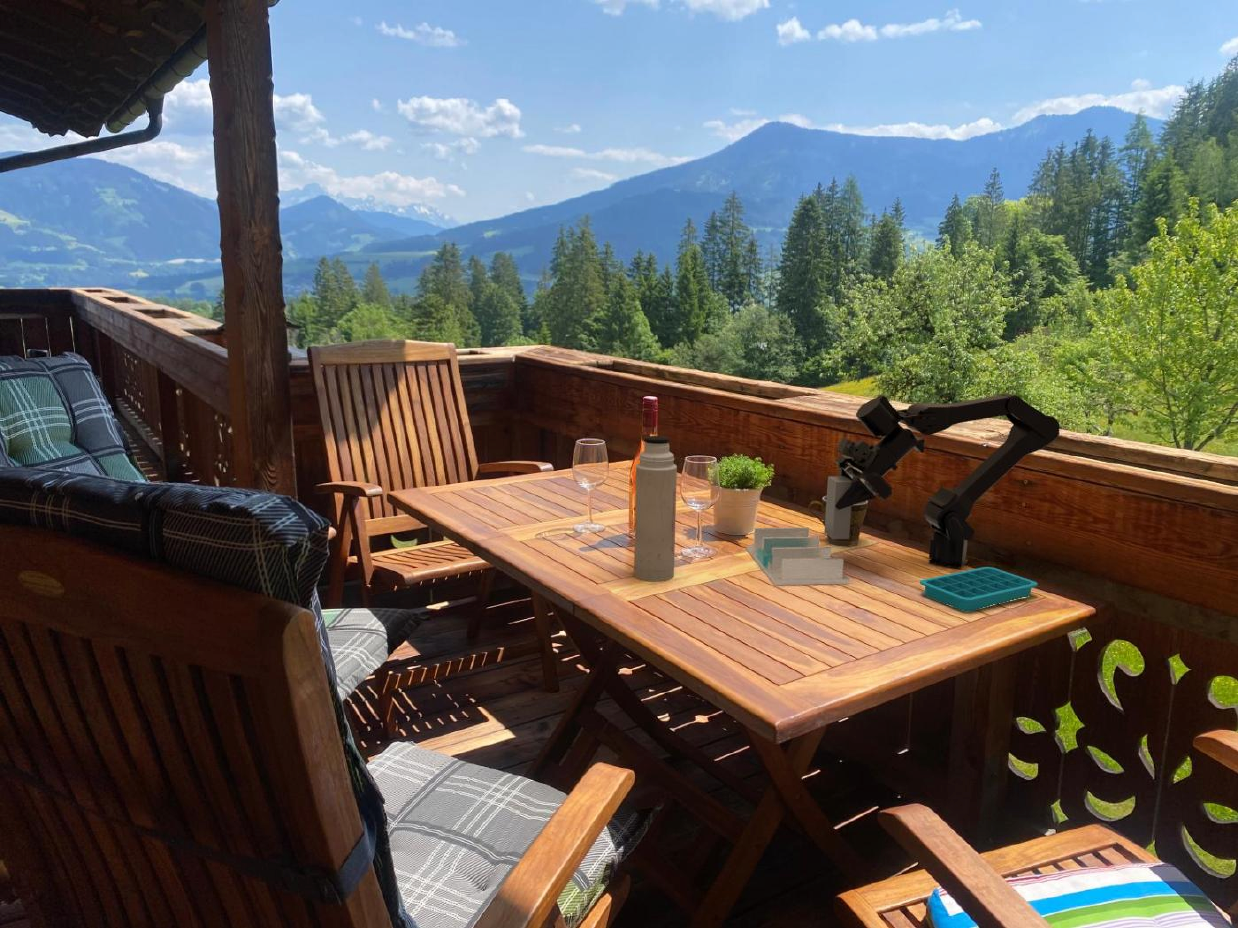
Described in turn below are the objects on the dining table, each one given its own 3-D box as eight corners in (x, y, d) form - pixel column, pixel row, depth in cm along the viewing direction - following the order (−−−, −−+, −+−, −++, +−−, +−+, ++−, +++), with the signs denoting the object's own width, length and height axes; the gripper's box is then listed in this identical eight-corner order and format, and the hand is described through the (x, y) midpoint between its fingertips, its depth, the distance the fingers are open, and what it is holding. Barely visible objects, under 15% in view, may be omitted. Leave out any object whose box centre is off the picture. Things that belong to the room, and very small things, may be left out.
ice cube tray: (915, 595, 162) (916, 580, 162) (987, 580, 172) (988, 566, 171) (965, 616, 152) (967, 600, 152) (1039, 598, 162) (1041, 583, 161)
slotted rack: (812, 548, 190) (814, 526, 189) (849, 583, 167) (851, 559, 166) (746, 549, 189) (747, 527, 188) (774, 585, 166) (776, 560, 165)
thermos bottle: (676, 570, 174) (680, 434, 169) (670, 582, 167) (674, 441, 161) (637, 566, 176) (640, 432, 170) (630, 579, 168) (633, 439, 162)
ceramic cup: (860, 536, 200) (863, 495, 198) (868, 549, 190) (871, 505, 188) (804, 534, 201) (806, 493, 199) (809, 546, 191) (811, 503, 189)
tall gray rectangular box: (840, 532, 180) (844, 476, 178) (849, 538, 175) (853, 481, 173) (824, 532, 180) (828, 476, 177) (832, 539, 175) (836, 481, 172)
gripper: (847, 417, 182) (793, 468, 183) (881, 432, 164) (821, 488, 165) (879, 453, 185) (826, 503, 186) (917, 472, 166) (858, 527, 168)
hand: (832, 504), depth 176 cm, fingers closed on tall gray rectangular box, 5 cm apart
